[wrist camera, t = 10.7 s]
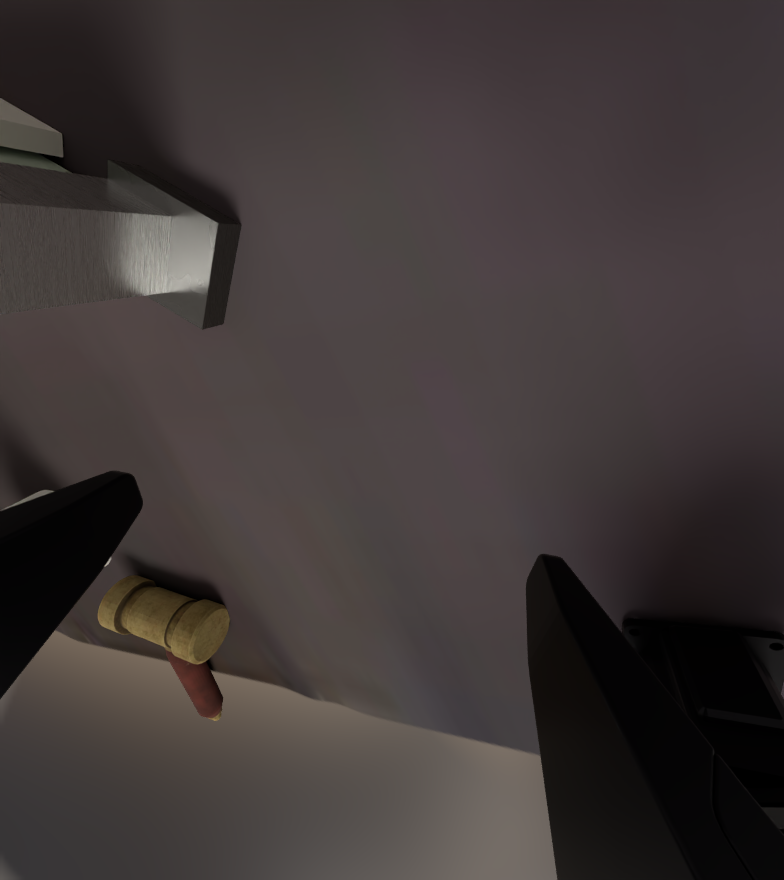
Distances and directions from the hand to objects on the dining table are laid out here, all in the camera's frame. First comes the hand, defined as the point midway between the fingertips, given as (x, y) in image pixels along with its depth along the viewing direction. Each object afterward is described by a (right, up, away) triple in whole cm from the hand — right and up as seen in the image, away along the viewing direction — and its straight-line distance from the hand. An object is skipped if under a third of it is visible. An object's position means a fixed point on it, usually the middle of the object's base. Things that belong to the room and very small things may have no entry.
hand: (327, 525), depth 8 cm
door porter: (-9, +11, +10) cm, 18 cm away
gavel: (-18, -20, +31) cm, 40 cm away
